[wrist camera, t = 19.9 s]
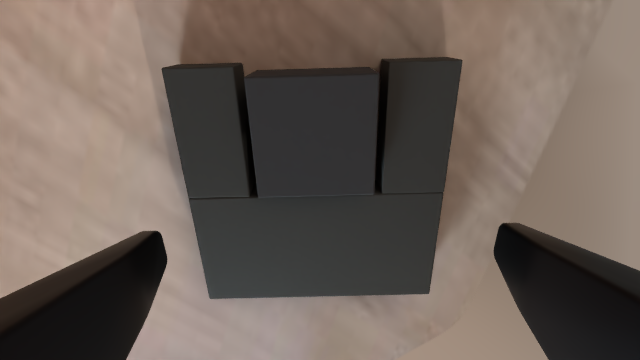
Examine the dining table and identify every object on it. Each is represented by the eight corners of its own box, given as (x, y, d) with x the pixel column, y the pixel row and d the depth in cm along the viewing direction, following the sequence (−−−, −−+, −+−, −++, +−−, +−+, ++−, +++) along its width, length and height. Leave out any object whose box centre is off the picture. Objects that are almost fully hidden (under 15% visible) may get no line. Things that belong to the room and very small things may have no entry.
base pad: (447, 57, 17) (462, 59, 15) (420, 273, 23) (429, 294, 21) (177, 64, 17) (160, 67, 15) (218, 278, 23) (209, 299, 21)
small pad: (369, 66, 17) (379, 72, 14) (366, 172, 19) (374, 195, 17) (255, 70, 17) (243, 76, 14) (266, 175, 20) (257, 198, 17)
